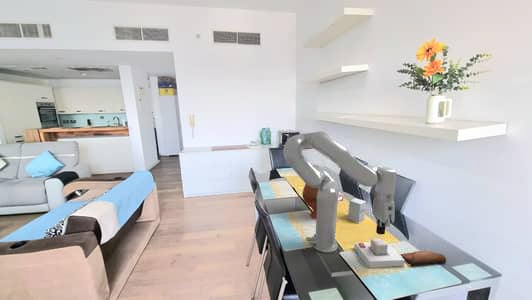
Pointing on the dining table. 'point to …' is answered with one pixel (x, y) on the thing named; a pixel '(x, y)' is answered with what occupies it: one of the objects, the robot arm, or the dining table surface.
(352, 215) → the supplement box
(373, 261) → the socket plate
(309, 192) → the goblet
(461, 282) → the dining table surface
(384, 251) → the plug
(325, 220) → the robot arm
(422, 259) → the sunglasses case
